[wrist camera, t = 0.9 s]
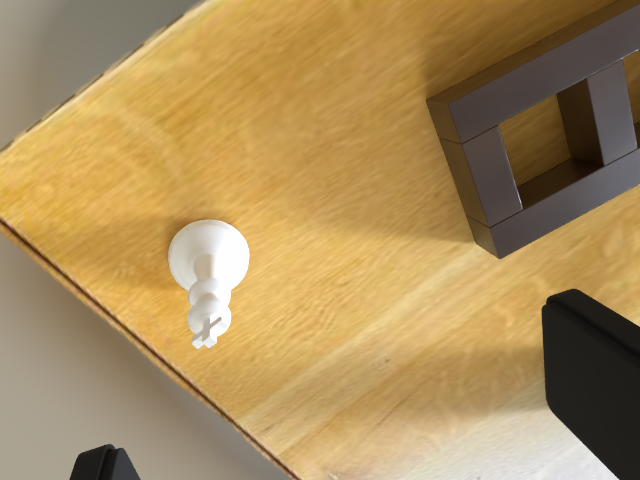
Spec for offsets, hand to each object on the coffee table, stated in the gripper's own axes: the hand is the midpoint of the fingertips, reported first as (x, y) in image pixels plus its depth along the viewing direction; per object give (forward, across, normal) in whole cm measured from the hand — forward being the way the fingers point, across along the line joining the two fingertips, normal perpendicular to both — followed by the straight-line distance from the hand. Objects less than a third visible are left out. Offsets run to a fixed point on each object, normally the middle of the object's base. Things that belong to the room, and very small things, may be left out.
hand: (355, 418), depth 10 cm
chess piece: (+20, +4, +3) cm, 21 cm away
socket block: (+20, -22, +1) cm, 30 cm away
